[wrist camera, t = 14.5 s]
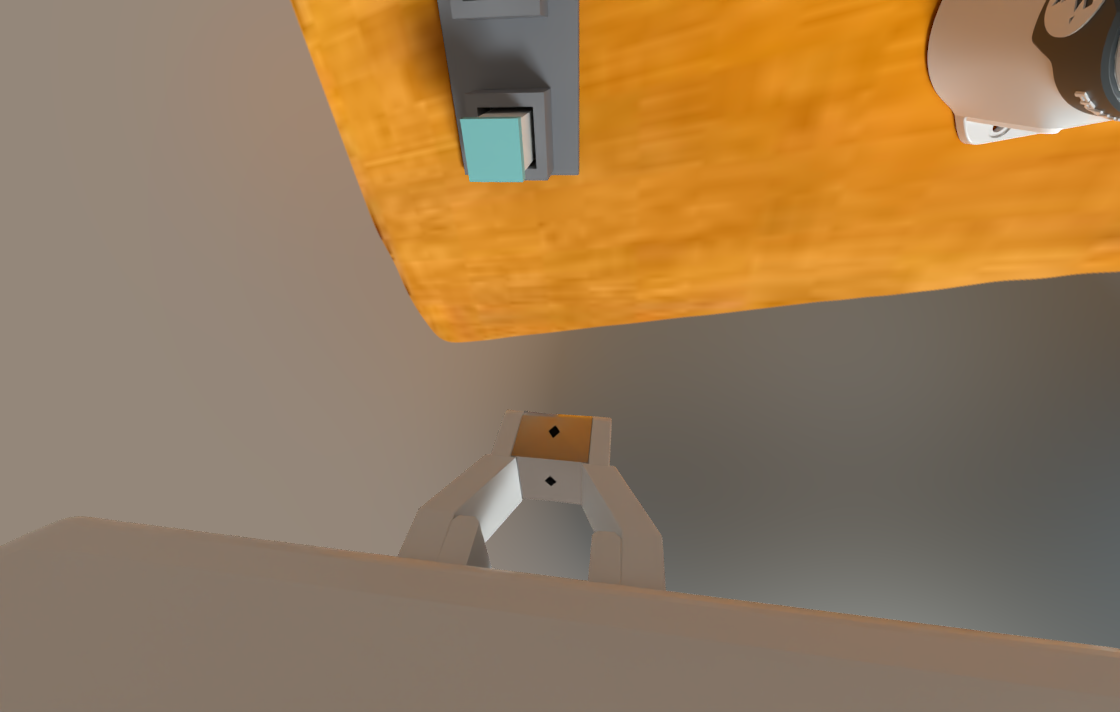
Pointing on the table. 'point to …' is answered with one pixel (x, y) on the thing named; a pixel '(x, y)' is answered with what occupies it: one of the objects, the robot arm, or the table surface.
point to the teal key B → (499, 144)
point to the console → (518, 70)
